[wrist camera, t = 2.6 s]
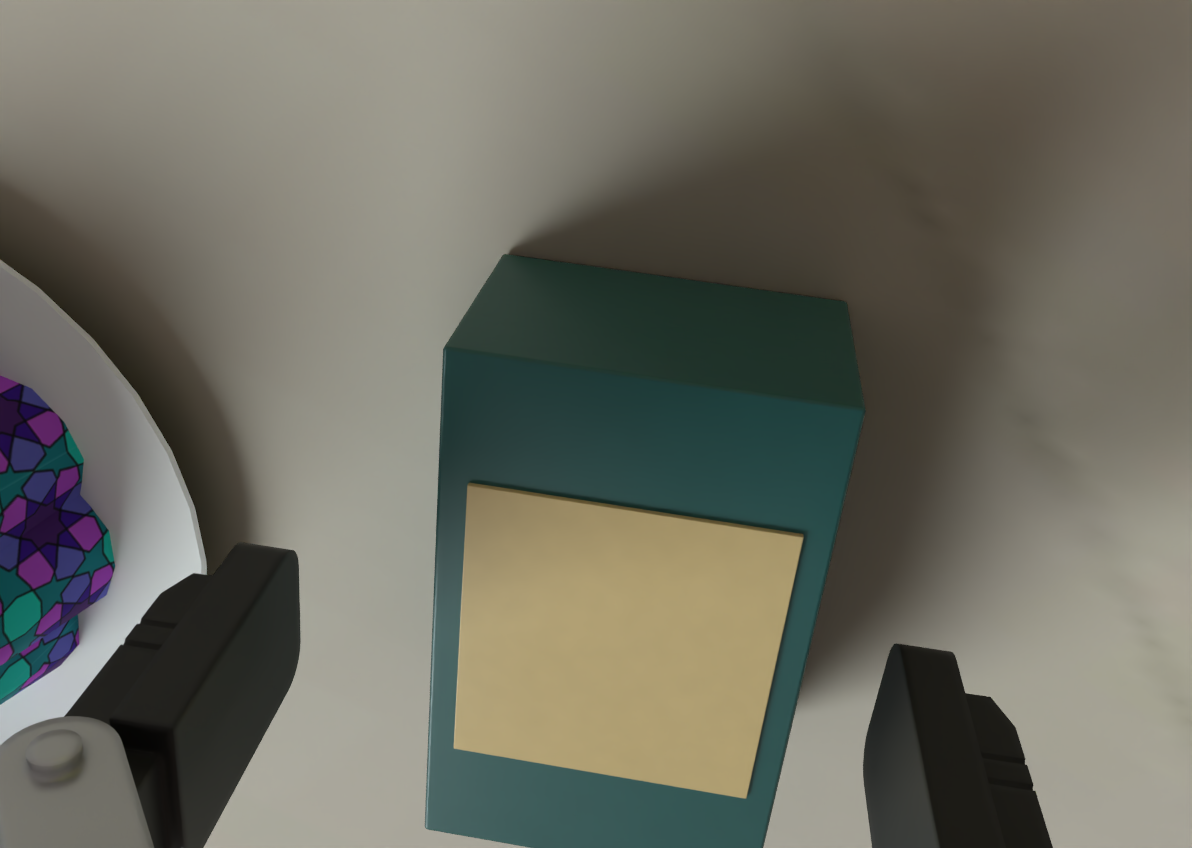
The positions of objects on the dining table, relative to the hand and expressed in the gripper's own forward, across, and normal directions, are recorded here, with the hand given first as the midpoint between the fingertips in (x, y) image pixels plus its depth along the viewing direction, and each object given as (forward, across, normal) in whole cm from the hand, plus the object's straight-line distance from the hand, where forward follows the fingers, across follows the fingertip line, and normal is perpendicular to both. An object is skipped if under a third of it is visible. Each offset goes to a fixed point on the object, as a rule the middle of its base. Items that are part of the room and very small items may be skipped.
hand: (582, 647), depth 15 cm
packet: (+3, 0, 0) cm, 3 cm away
